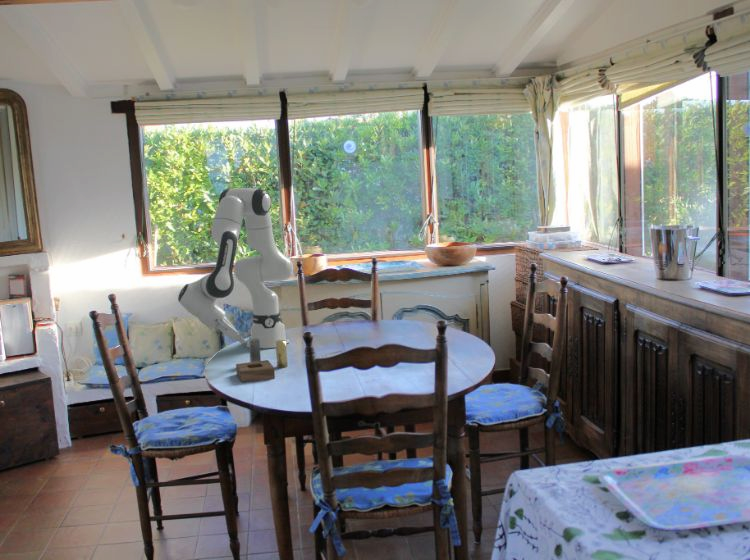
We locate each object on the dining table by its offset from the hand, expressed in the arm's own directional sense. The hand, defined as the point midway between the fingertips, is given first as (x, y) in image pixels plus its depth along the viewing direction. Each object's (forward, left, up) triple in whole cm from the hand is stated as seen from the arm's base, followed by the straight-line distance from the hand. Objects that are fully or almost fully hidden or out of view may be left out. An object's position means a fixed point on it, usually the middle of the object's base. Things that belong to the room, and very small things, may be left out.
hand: (241, 339), depth 280 cm
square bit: (0, +5, -10) cm, 11 cm away
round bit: (+8, +14, -10) cm, 19 cm away
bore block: (+17, +2, -10) cm, 20 cm away
